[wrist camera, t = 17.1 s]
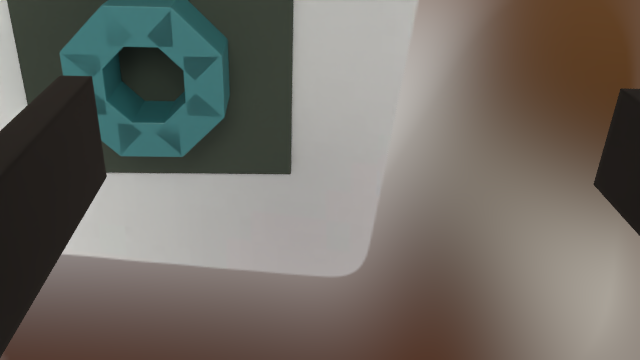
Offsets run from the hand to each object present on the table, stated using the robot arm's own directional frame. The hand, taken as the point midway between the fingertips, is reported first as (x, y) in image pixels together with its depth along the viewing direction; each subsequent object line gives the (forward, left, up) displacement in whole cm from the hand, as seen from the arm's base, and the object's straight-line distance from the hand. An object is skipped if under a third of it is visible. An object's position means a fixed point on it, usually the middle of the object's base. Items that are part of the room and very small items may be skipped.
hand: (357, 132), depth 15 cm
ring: (+10, +6, -26) cm, 29 cm away
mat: (+10, +6, -26) cm, 29 cm away
